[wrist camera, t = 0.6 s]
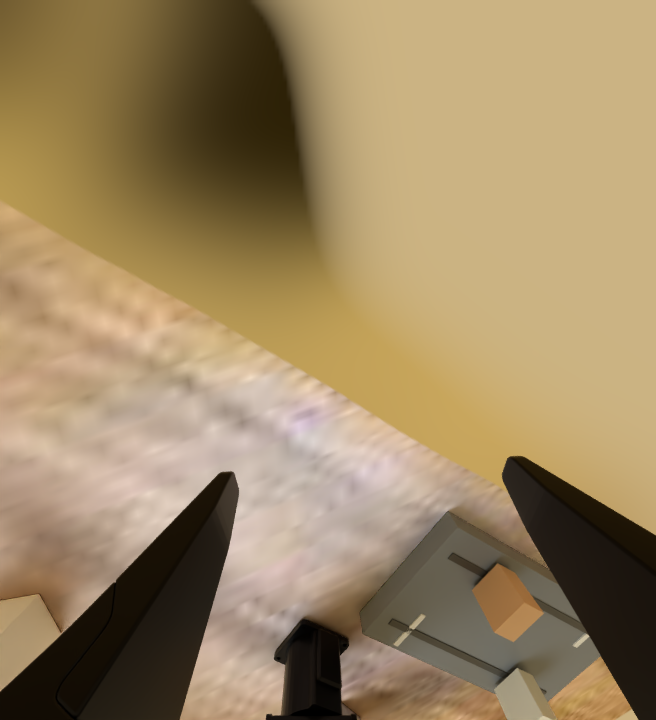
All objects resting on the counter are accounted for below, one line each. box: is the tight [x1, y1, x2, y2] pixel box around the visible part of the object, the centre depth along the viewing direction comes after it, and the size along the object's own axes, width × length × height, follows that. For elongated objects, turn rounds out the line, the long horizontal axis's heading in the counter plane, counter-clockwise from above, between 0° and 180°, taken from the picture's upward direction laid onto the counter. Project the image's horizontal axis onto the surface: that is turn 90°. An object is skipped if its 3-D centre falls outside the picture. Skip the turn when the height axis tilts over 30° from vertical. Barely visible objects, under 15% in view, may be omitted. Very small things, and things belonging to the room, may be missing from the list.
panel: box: [360, 512, 601, 702], centre depth 30 cm, size 16×26×2 cm, turn 57°
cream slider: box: [494, 668, 558, 720], centre depth 29 cm, size 4×2×4 cm, turn 146°
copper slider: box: [472, 563, 544, 642], centre depth 25 cm, size 4×2×4 cm, turn 147°
